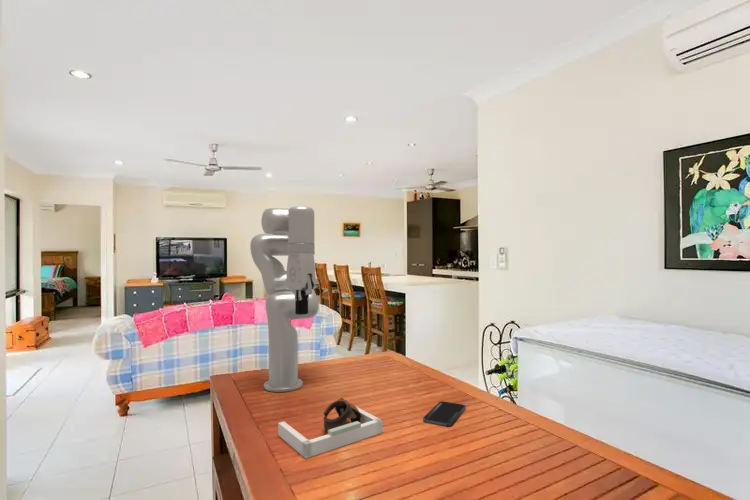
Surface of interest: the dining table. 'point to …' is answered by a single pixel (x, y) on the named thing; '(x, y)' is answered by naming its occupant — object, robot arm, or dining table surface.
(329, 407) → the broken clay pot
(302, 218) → the robot arm
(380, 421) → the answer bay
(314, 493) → the dining table surface
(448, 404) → the phone
